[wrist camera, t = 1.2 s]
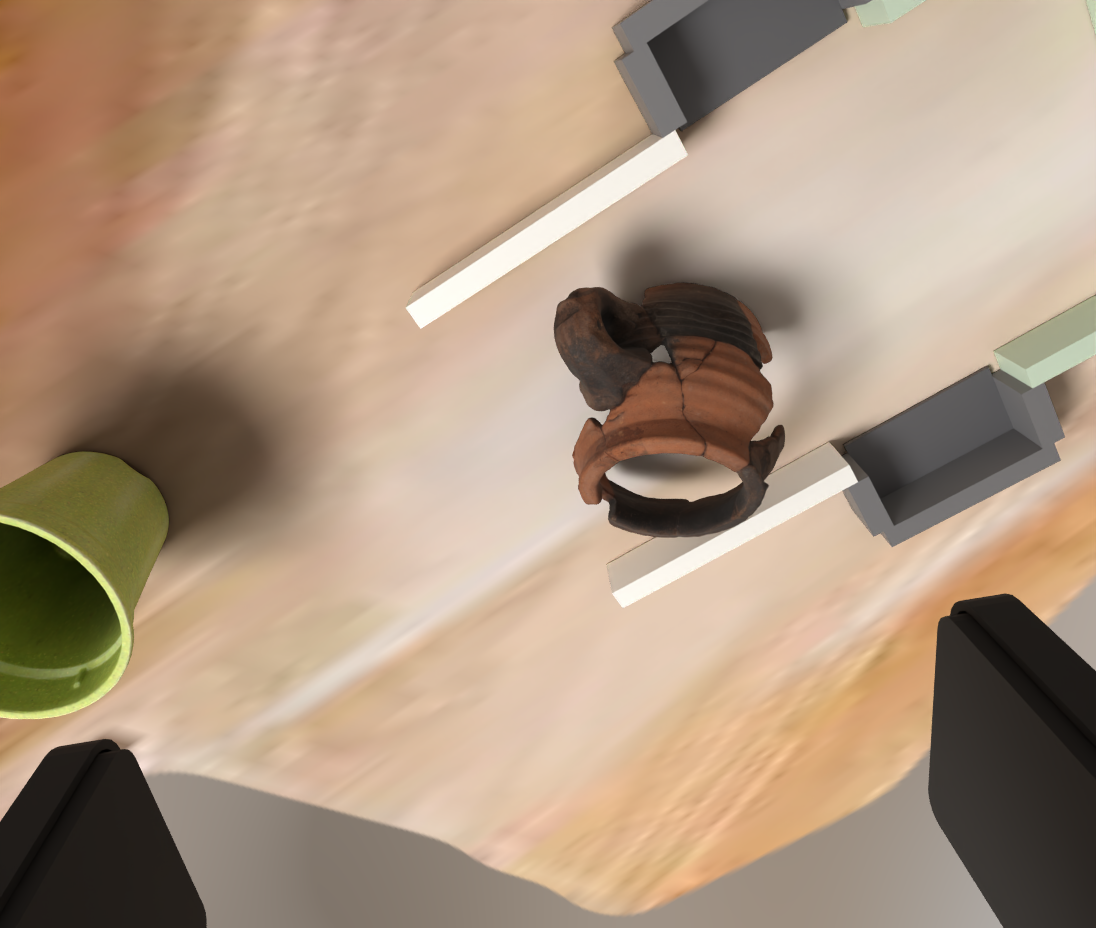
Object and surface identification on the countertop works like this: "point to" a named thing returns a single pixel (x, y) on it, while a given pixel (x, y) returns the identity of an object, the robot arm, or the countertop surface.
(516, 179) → the countertop surface
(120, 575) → the plant pot
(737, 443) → the pottery mug
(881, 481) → the pale green flat frame
